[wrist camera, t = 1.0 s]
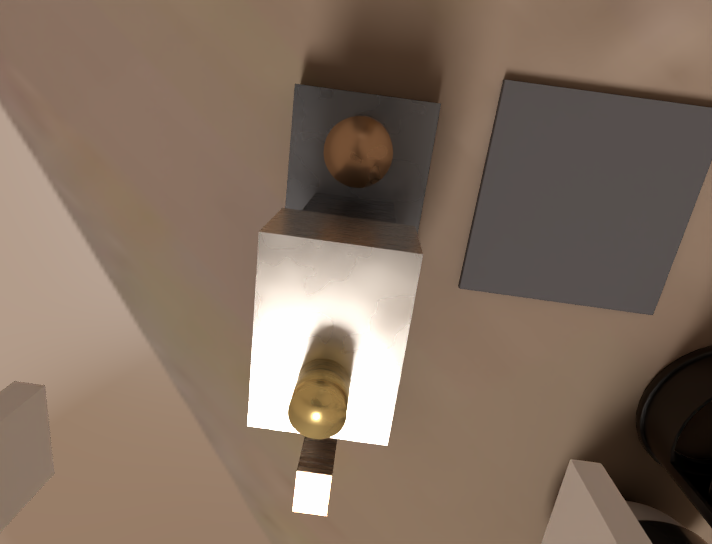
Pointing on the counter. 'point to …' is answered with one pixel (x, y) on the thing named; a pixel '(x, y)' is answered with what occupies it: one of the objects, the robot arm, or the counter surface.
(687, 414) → the french press
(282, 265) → the white box with knob
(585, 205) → the mat
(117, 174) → the counter surface
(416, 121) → the grey stand
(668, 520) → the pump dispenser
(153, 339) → the counter surface
